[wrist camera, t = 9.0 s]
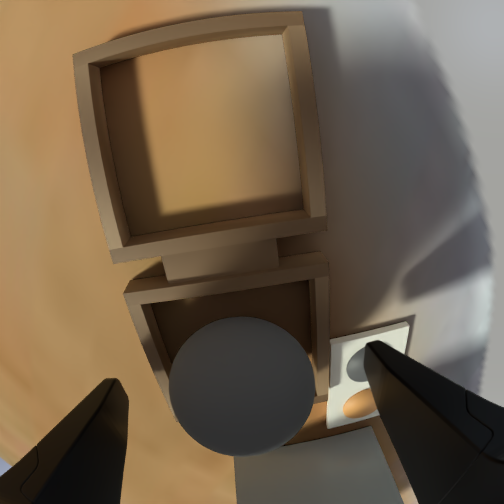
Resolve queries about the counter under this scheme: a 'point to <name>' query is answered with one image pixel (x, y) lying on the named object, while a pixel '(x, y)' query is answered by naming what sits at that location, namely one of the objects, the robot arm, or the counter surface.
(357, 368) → the card
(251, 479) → the grey open box
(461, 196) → the counter surface
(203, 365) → the gray ball
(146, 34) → the holder
